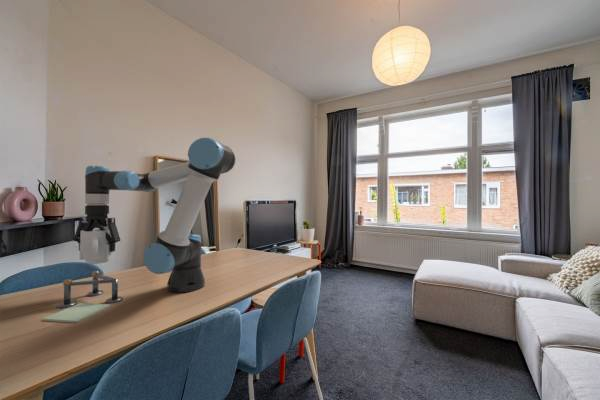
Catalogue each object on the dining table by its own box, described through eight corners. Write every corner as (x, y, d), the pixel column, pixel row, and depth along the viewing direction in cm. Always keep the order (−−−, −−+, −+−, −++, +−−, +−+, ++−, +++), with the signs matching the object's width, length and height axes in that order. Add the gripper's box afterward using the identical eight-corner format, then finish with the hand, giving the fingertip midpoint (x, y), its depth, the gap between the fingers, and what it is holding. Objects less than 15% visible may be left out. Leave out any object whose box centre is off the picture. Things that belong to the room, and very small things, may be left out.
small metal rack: (135, 293, 101) (136, 270, 101) (100, 310, 85) (100, 283, 85) (95, 291, 103) (95, 268, 103) (53, 307, 87) (53, 280, 87)
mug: (113, 265, 96) (113, 231, 96) (75, 269, 90) (75, 233, 90) (116, 257, 109) (116, 227, 109) (82, 261, 103) (83, 229, 103)
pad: (110, 306, 89) (110, 304, 89) (77, 322, 77) (77, 320, 77) (80, 304, 90) (80, 303, 90) (42, 320, 78) (42, 318, 78)
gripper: (131, 204, 103) (130, 258, 103) (80, 204, 105) (79, 256, 105) (116, 205, 95) (115, 262, 95) (61, 204, 98) (60, 260, 98)
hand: (96, 259), depth 100 cm, fingers closed on mug, 11 cm apart
